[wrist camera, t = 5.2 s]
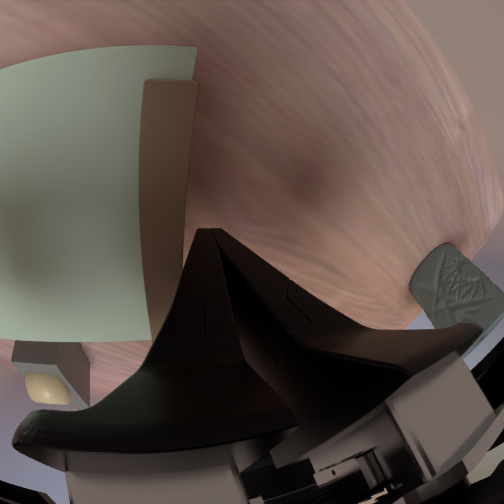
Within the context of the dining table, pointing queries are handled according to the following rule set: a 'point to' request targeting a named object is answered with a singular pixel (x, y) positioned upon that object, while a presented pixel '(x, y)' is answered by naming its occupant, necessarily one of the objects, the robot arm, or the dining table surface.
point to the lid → (94, 191)
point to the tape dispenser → (54, 372)
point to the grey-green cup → (456, 292)
